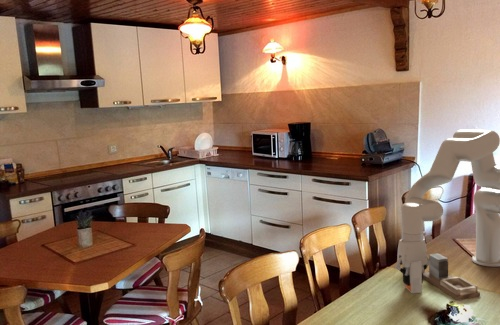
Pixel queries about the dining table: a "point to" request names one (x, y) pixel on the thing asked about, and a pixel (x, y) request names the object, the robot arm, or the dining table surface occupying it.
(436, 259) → the desk organizer
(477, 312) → the dining table surface
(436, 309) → the dining table surface
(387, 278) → the dining table surface
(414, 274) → the skincare box
